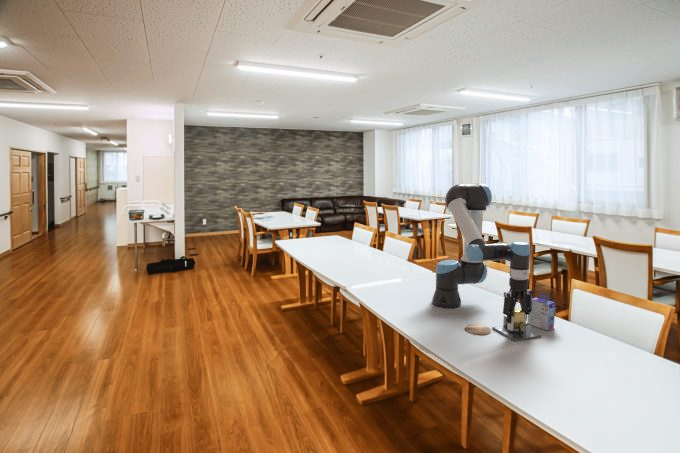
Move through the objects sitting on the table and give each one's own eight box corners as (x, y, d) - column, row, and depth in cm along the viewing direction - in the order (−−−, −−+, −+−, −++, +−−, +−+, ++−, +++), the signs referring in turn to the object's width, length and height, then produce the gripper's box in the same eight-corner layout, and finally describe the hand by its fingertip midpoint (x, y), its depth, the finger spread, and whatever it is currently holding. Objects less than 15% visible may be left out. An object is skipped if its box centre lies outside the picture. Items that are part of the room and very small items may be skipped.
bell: (503, 323, 172) (503, 308, 172) (513, 321, 174) (514, 306, 173) (519, 331, 163) (520, 315, 162) (530, 329, 165) (531, 314, 164)
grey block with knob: (492, 328, 174) (492, 316, 173) (518, 325, 178) (518, 313, 177) (514, 341, 160) (514, 328, 160) (541, 337, 164) (542, 324, 163)
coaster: (460, 326, 177) (460, 325, 177) (480, 324, 180) (480, 322, 180) (474, 336, 166) (474, 334, 166) (496, 333, 169) (496, 331, 169)
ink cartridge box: (554, 328, 174) (556, 297, 172) (547, 331, 171) (549, 299, 169) (533, 321, 182) (535, 292, 180) (527, 324, 179) (528, 294, 177)
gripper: (507, 282, 159) (504, 335, 162) (543, 277, 165) (540, 329, 168) (494, 277, 166) (492, 328, 169) (529, 273, 172) (527, 323, 175)
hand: (516, 328), depth 169 cm, fingers closed on bell, 6 cm apart
